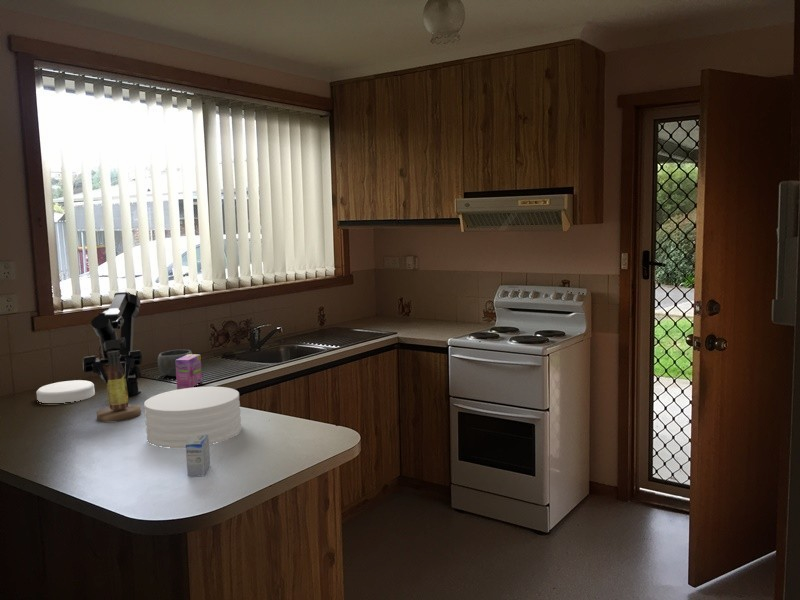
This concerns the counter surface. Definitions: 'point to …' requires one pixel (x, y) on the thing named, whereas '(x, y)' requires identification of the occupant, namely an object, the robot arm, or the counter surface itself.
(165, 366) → the bowl
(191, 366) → the box
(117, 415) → the stand
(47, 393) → the container
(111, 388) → the sauce bottle
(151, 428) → the plate stack
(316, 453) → the counter surface
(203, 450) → the medicine box
